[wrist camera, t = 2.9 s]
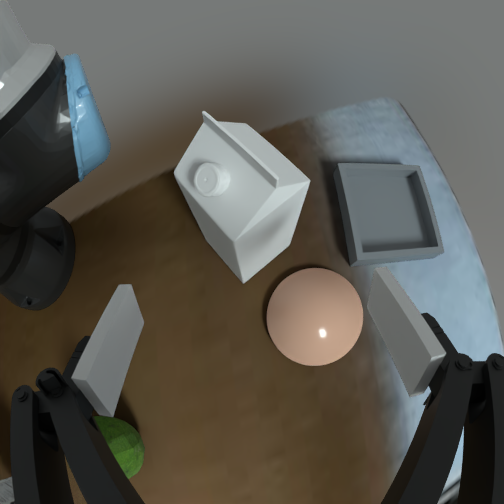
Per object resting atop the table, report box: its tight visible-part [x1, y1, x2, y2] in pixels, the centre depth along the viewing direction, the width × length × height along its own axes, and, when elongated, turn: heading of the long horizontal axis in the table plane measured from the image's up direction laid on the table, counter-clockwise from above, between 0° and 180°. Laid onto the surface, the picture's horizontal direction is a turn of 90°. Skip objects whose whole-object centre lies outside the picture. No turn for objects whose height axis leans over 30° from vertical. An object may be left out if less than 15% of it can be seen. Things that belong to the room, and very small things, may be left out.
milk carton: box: [174, 111, 310, 283], centre depth 25 cm, size 7×7×19 cm
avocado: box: [66, 416, 145, 479], centre depth 22 cm, size 8×8×12 cm
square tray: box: [333, 163, 444, 266], centre depth 34 cm, size 13×13×3 cm
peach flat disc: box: [267, 268, 363, 366], centre depth 32 cm, size 11×11×1 cm
